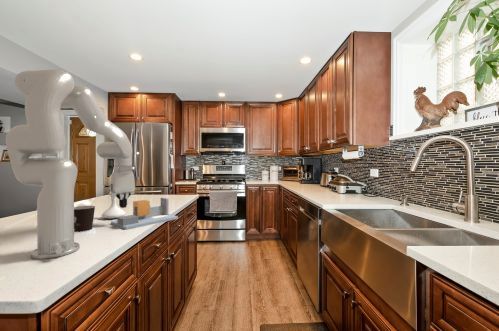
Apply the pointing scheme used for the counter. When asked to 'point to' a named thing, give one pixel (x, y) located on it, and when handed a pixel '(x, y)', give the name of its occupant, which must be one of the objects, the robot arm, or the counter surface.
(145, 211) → the clip
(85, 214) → the coffee mug
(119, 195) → the robot arm
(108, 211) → the flower in vase
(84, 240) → the counter surface
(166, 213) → the rail
